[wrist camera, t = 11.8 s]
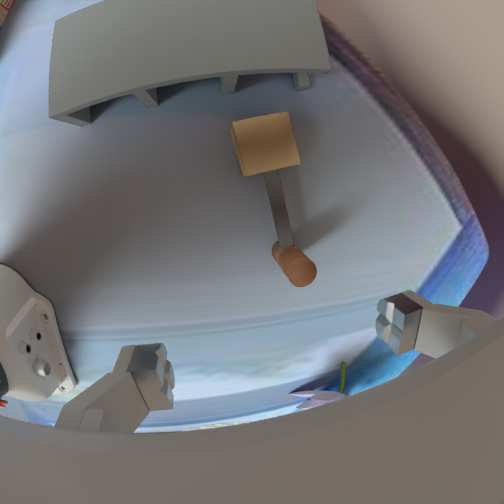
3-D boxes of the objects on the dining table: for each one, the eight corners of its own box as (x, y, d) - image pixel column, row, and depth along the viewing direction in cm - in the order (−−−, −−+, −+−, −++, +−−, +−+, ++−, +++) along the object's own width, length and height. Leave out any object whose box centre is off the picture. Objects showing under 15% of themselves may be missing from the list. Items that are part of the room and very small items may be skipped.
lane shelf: (305, 89, 26) (331, 69, 19) (81, 126, 24) (48, 117, 17) (289, 10, 22) (308, -21, 16) (81, 44, 20) (55, 21, 13)
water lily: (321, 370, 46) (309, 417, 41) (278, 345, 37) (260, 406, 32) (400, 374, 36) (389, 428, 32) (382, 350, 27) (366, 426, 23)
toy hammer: (306, 255, 31) (330, 278, 25) (264, 267, 31) (278, 294, 24) (276, 119, 27) (295, 105, 20) (229, 129, 26) (235, 116, 20)
